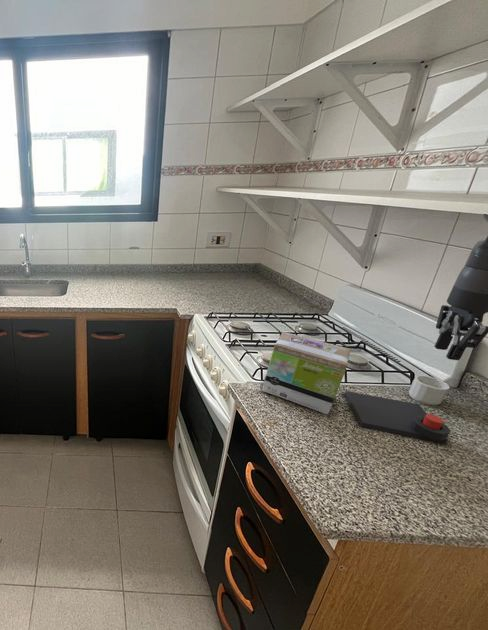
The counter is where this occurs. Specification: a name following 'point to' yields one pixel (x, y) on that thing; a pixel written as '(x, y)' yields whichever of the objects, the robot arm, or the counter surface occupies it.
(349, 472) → the counter surface
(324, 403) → the tea box
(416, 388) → the white cup
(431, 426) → the button
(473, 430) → the counter surface
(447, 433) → the scale
